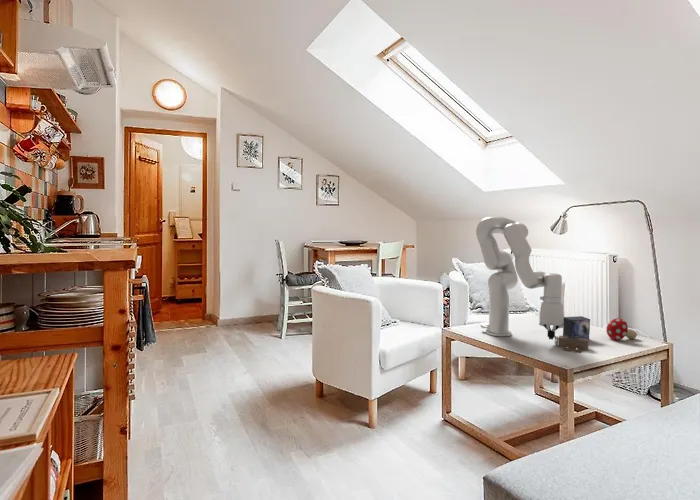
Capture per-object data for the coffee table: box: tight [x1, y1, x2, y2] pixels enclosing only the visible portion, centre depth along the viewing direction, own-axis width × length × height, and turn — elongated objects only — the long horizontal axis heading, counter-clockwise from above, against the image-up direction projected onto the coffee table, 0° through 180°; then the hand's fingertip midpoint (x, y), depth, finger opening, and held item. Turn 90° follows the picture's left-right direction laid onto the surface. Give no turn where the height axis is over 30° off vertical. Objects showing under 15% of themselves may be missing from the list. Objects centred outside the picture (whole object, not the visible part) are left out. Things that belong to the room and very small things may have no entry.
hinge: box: [557, 335, 589, 354], centre depth 207 cm, size 12×15×4 cm
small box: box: [562, 315, 591, 341], centre depth 222 cm, size 11×6×10 cm, turn 101°
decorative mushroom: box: [605, 317, 638, 341], centre depth 221 cm, size 11×11×15 cm
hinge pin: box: [554, 335, 559, 346], centre depth 208 cm, size 14×4×4 cm, turn 60°
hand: (551, 338), depth 212 cm, fingers closed
